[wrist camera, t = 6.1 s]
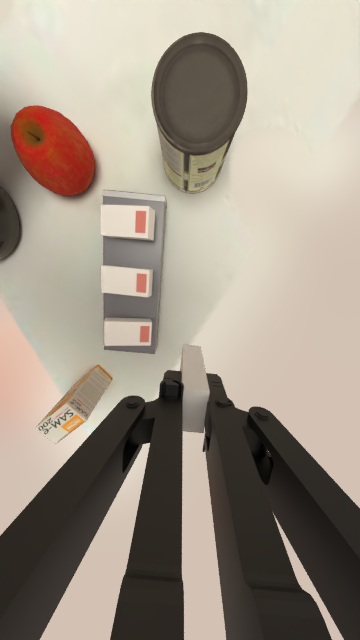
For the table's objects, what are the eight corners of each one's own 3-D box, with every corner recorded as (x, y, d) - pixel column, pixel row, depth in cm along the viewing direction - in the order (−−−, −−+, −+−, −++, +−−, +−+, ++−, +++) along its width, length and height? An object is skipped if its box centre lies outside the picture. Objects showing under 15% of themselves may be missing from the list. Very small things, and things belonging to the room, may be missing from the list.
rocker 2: (107, 290, 37) (100, 292, 34) (107, 265, 35) (100, 265, 33) (151, 295, 36) (147, 297, 33) (153, 269, 35) (149, 269, 32)
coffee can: (193, 108, 34) (202, 1, 20) (234, 161, 35) (267, 95, 22) (150, 159, 35) (131, 94, 22) (191, 207, 37) (196, 173, 24)
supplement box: (98, 363, 46) (65, 401, 33) (113, 378, 47) (87, 420, 34) (73, 384, 47) (33, 428, 34) (88, 398, 48) (54, 446, 35)
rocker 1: (109, 237, 35) (100, 235, 32) (109, 208, 34) (99, 204, 31) (153, 240, 33) (147, 238, 31) (155, 210, 32) (148, 205, 29)
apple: (38, 131, 35) (-22, 76, 24) (99, 133, 35) (64, 79, 24) (46, 199, 37) (-4, 175, 27) (103, 201, 37) (73, 177, 27)
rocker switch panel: (110, 342, 44) (101, 351, 39) (110, 197, 37) (100, 187, 32) (157, 346, 44) (154, 355, 40) (167, 202, 37) (164, 193, 32)
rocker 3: (105, 340, 38) (104, 346, 35) (105, 317, 36) (103, 321, 34) (149, 340, 40) (150, 345, 37) (150, 318, 38) (152, 322, 36)
